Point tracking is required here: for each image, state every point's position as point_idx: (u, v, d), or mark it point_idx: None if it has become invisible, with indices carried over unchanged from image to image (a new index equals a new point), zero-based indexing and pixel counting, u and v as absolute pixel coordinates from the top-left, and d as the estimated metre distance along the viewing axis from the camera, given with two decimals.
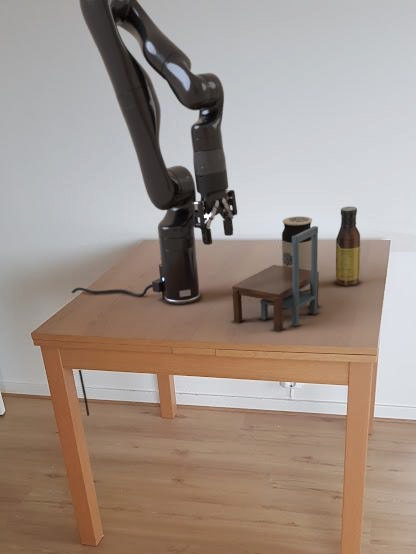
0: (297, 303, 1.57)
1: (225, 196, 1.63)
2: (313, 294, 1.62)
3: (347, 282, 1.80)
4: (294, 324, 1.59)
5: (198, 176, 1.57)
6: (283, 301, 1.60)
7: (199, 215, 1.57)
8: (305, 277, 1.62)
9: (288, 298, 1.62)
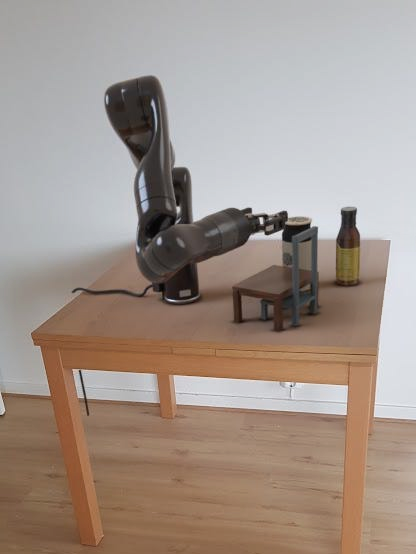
0: (297, 303, 1.57)
1: None
2: (313, 294, 1.62)
3: (347, 282, 1.80)
4: (294, 324, 1.59)
5: None
6: (283, 301, 1.60)
7: None
8: (305, 277, 1.62)
9: (288, 298, 1.62)
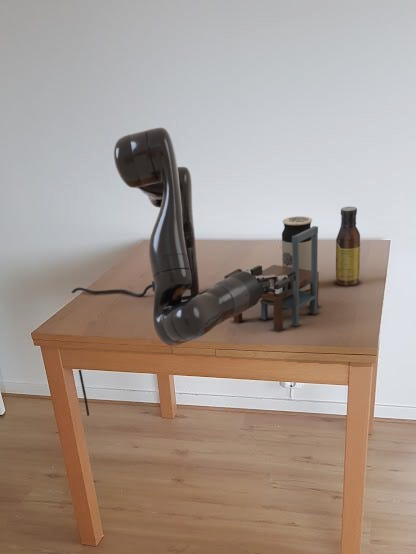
0: (297, 303, 1.57)
1: None
2: (313, 294, 1.62)
3: (347, 282, 1.80)
4: (294, 324, 1.59)
5: None
6: (283, 301, 1.60)
7: None
8: (305, 277, 1.62)
9: (288, 298, 1.62)
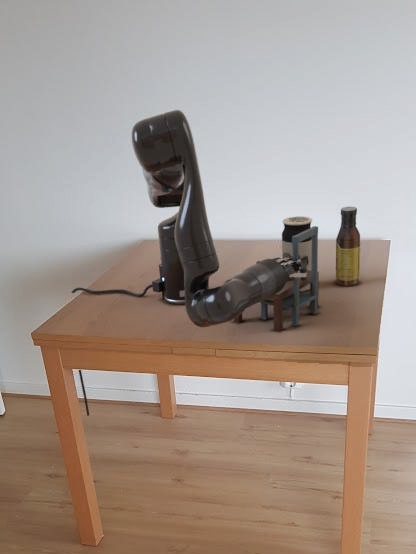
0: (297, 303, 1.57)
1: None
2: (313, 294, 1.62)
3: (347, 282, 1.80)
4: (294, 324, 1.59)
5: None
6: (283, 301, 1.60)
7: None
8: None
9: (288, 298, 1.62)
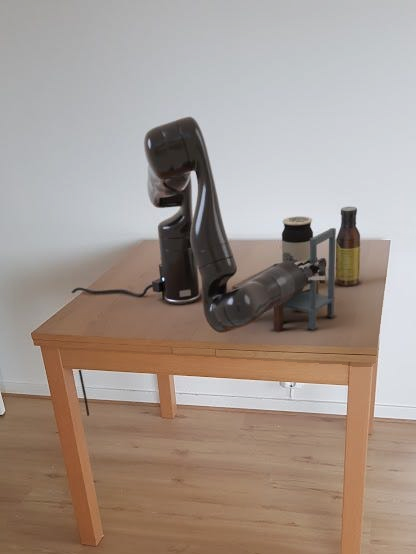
0: (314, 306, 1.54)
1: None
2: (330, 297, 1.60)
3: (347, 282, 1.80)
4: (311, 327, 1.57)
5: None
6: (300, 304, 1.58)
7: None
8: None
9: (305, 301, 1.59)
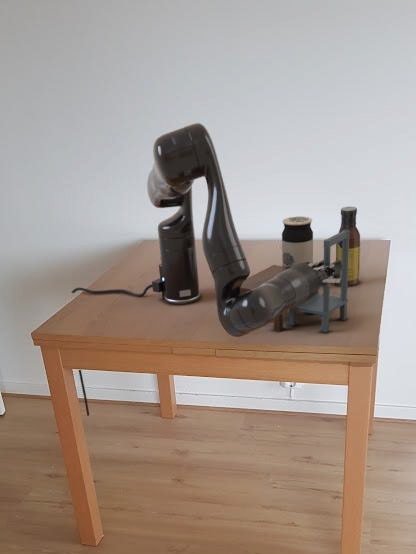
0: (328, 309, 1.52)
1: None
2: (343, 299, 1.58)
3: (347, 282, 1.80)
4: (324, 330, 1.55)
5: None
6: (312, 306, 1.56)
7: None
8: None
9: (317, 303, 1.58)
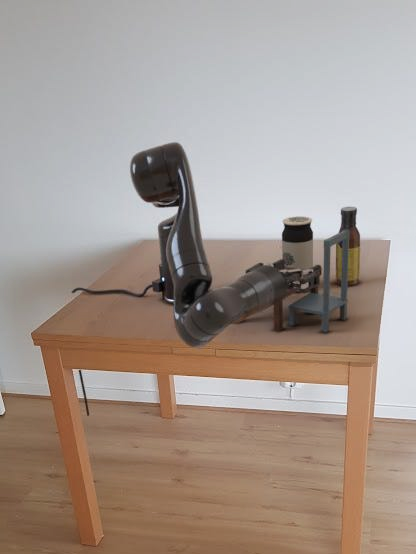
0: (328, 309, 1.52)
1: None
2: (343, 299, 1.58)
3: (347, 282, 1.80)
4: (324, 330, 1.55)
5: None
6: (312, 306, 1.56)
7: None
8: None
9: (317, 303, 1.58)
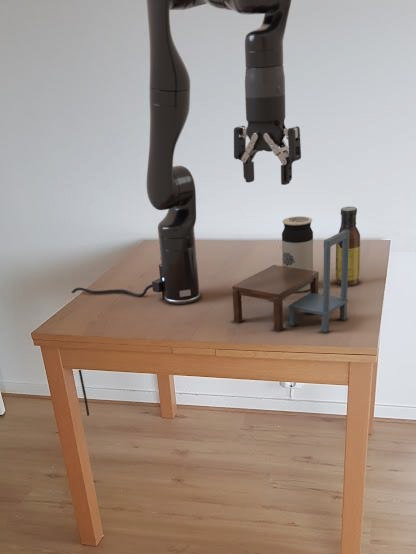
0: (328, 309, 1.52)
1: (277, 132, 1.29)
2: (343, 299, 1.58)
3: (347, 282, 1.80)
4: (324, 330, 1.55)
5: None
6: (312, 306, 1.56)
7: None
8: (305, 277, 1.62)
9: (317, 303, 1.58)
